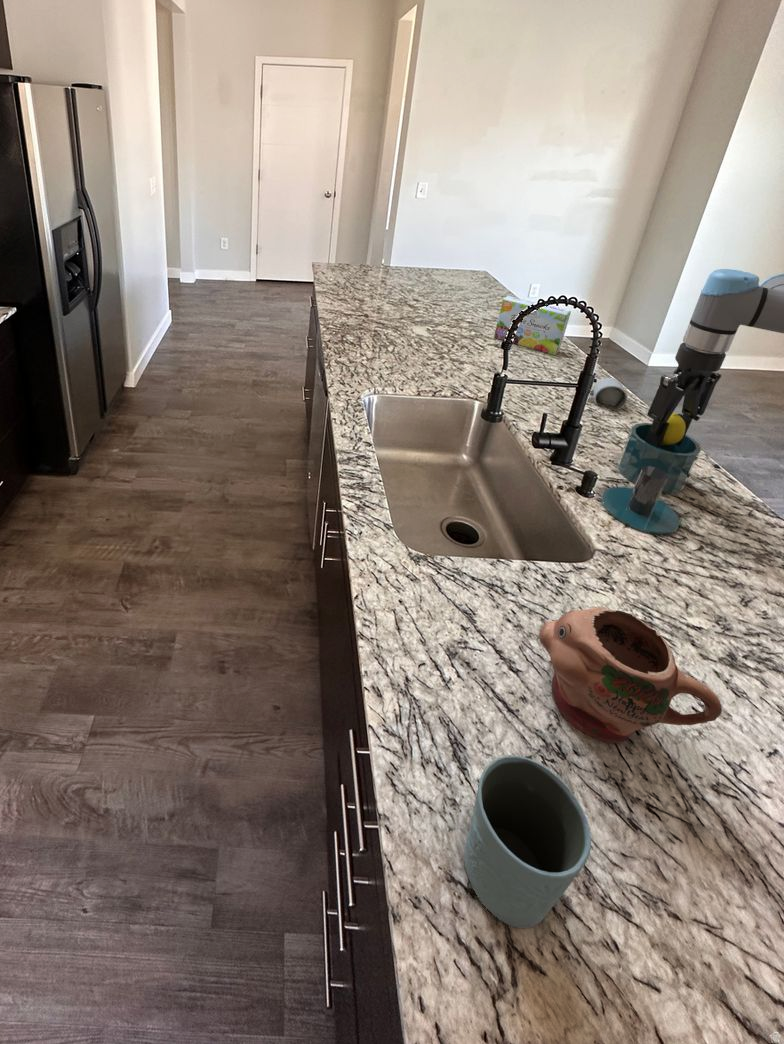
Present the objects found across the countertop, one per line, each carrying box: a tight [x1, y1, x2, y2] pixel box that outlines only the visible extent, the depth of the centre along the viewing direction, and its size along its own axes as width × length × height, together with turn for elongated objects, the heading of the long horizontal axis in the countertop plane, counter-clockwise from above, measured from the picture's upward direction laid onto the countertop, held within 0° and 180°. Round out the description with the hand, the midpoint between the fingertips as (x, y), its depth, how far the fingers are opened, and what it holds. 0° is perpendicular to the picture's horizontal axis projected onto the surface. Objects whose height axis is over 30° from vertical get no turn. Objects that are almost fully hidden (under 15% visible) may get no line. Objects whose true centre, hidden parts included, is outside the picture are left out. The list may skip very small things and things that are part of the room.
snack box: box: [493, 295, 572, 356], centre depth 185 cm, size 21×6×15 cm, turn 49°
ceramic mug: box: [587, 377, 628, 410], centre depth 150 cm, size 11×8×8 cm
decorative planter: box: [538, 606, 723, 744], centre depth 70 cm, size 20×12×14 cm, turn 63°
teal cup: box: [463, 754, 592, 929], centre depth 55 cm, size 10×10×12 cm
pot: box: [617, 422, 702, 495], centre depth 119 cm, size 13×13×10 cm
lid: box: [600, 466, 680, 536], centre depth 108 cm, size 14×14×10 cm
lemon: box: [661, 412, 686, 445], centre depth 116 cm, size 6×6×8 cm
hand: (662, 443), depth 117 cm, fingers closed on lemon, 5 cm apart
